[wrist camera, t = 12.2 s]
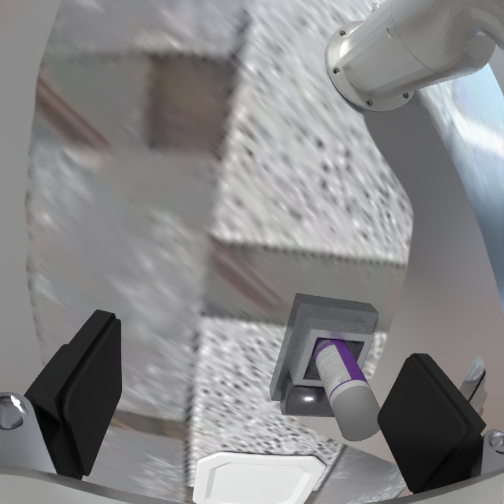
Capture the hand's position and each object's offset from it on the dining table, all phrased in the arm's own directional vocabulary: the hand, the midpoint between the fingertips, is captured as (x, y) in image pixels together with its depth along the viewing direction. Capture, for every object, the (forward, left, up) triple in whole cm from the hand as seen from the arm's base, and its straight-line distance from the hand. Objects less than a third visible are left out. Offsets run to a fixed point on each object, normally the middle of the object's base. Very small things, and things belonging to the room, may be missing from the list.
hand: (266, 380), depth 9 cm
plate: (+53, +12, -31) cm, 62 cm away
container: (+15, +14, -28) cm, 34 cm away
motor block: (+17, +14, -30) cm, 37 cm away
